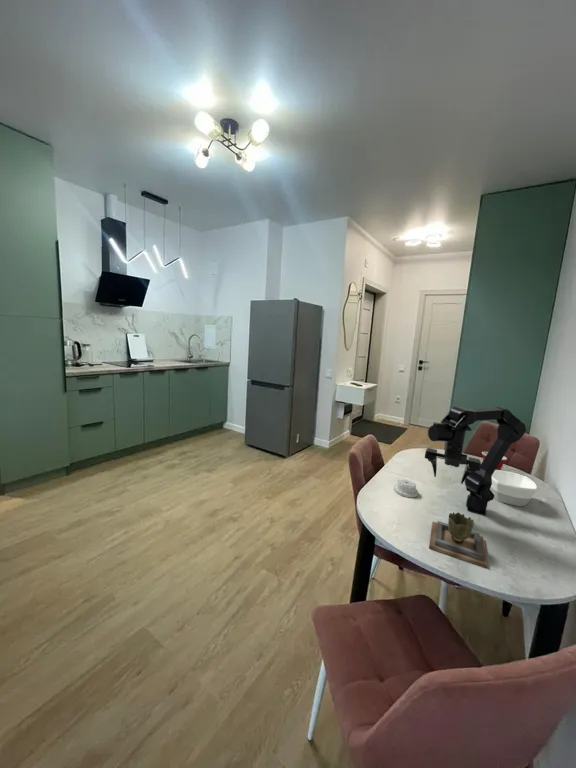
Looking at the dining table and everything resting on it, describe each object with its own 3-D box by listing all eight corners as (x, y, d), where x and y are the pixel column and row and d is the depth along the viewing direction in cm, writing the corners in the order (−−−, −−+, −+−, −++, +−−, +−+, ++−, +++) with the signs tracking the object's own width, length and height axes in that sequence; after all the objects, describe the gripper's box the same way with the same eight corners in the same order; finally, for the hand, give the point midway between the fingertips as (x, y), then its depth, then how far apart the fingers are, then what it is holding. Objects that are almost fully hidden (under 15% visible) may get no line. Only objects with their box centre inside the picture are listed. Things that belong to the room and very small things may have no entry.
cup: (440, 537, 111) (444, 515, 109) (451, 531, 115) (456, 509, 114) (462, 550, 105) (467, 527, 103) (474, 543, 109) (478, 521, 108)
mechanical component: (389, 492, 142) (413, 500, 137) (391, 482, 142) (415, 490, 136) (397, 484, 150) (420, 492, 144) (399, 475, 150) (422, 483, 144)
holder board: (482, 539, 113) (484, 532, 113) (486, 568, 99) (488, 560, 99) (432, 523, 120) (433, 517, 120) (428, 548, 106) (430, 541, 106)
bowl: (539, 514, 135) (544, 492, 133) (489, 503, 140) (493, 482, 138) (524, 494, 151) (528, 475, 150) (480, 485, 157) (484, 466, 155)
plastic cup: (504, 478, 168) (509, 455, 166) (500, 484, 160) (505, 460, 158) (480, 470, 175) (484, 448, 173) (475, 476, 167) (479, 453, 165)
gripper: (426, 441, 122) (420, 481, 124) (485, 453, 114) (477, 496, 116) (429, 433, 132) (422, 470, 134) (483, 444, 124) (475, 484, 126)
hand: (448, 480), depth 127 cm, fingers open, 9 cm apart
